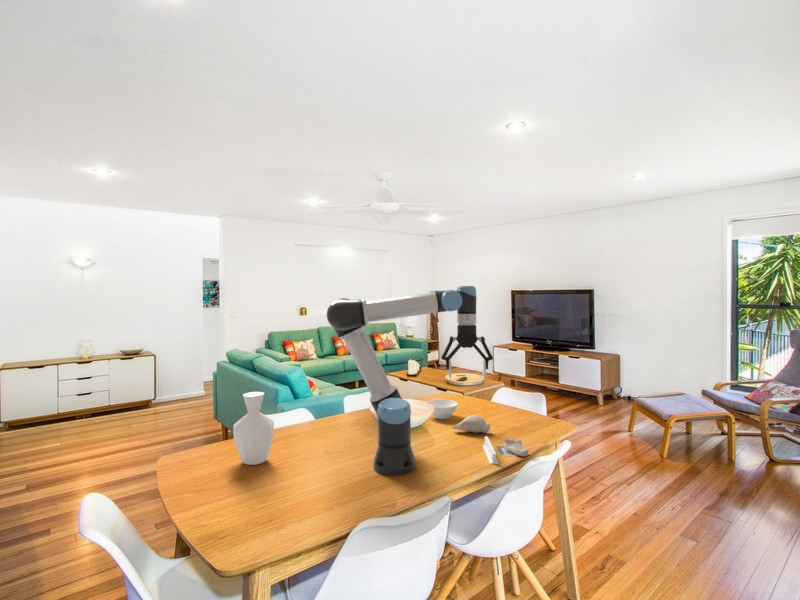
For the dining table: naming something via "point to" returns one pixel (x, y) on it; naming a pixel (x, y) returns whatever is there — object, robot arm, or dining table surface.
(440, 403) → the bowl
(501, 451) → the rest mat
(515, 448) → the coral
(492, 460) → the divider wall
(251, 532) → the dining table surface
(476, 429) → the decorative bird
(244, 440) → the vase
